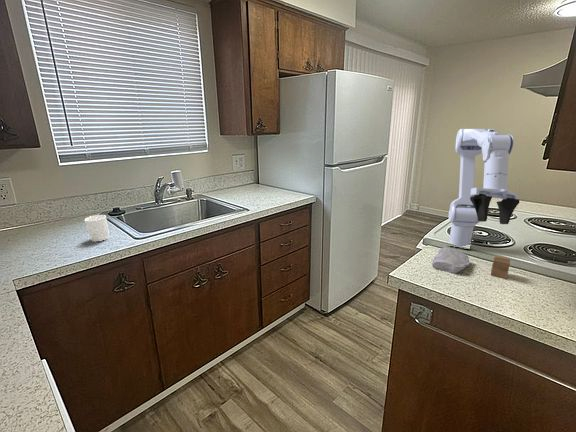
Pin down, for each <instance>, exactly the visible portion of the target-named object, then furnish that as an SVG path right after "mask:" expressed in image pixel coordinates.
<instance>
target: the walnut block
mask: <svg viewBox="0 0 576 432" xmlns="http://www.w3.org/2000/svg"><path fill="white" fill-rule="evenodd" d="M491 265H492V266H491V270H490V271H491V272H490V276H491V277H494V278H495V277H496V278H499V279H504V280H507V277H508V273H509V270H510V266H511V258H510V257H505V256H501V255H500V256H499V255H495V254H494V257H493V262H492V264H491Z"/></svg>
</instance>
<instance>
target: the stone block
mask: <svg viewBox="0 0 576 432" xmlns="http://www.w3.org/2000/svg"><path fill="white" fill-rule="evenodd" d="M431 265H432V267H433V268H434V269H437V270H440V271H443V272H448V273H451V274H455V275H456V274H458V273H459V272H461V271H463V270H464V269H466V268H467V267H468V266H469V265H470V257H469V255H467V254H466V253H465V252H461V251H459V250H457V249H453V248H449V247H441V248H440V249H439V250H438V252H437V254H436V255H435V256H434V257H433V258H432V264H431Z"/></svg>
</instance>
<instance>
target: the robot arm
mask: <svg viewBox="0 0 576 432" xmlns="http://www.w3.org/2000/svg"><path fill="white" fill-rule="evenodd" d="M513 148H514V137H513V135H512V134H504V135H503V134H501V132H497V131H496V130H495V129H494V128H460V129H459V130H458V131H457V133H456V138H455V153H456V154H457V155H459V158H460V164H459V165H460V166H459V187H458V198H456V199H454V200H453V201H452V202H451V203H450V205H449V208H448V209H449V211H448V220H449V222H450V223H451V228H450V233H449V237H450V238H449V237H448V239H449V241H450V242H451V243H453V244H455V245H458V246H466V245H470V242H471V241H472V237H473V236H472V235H473V233H474V228H475V227H476V225H478V224H480V223H481V222H483V223H484V222H487V220H488V215H489V207H490V204H491V201H492V198H494V199H501V200H499V201H496V204H497V208H498V212H499V219H498V221H499V224H500V225H509V223H510V220H511V218H512V214H513V213H514V211H515V209H516V208H517V206H518V205H519V204H520V199H519V193H517V192H512V191H511V190H510V189H508V182H509V181H508V179H509V177H508V175H509V162H510V161H509V160H510V159H509V158H510V157H509V156H510V154H511V153H512V151H513ZM481 154H482V160H483V162H484V164H483V166H484V167H483V169H484V170H483V185H482V186H483V187H475V171H476V170H475V169H476V168H475V166H476V157H477V156H478V155H481Z"/></svg>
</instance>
